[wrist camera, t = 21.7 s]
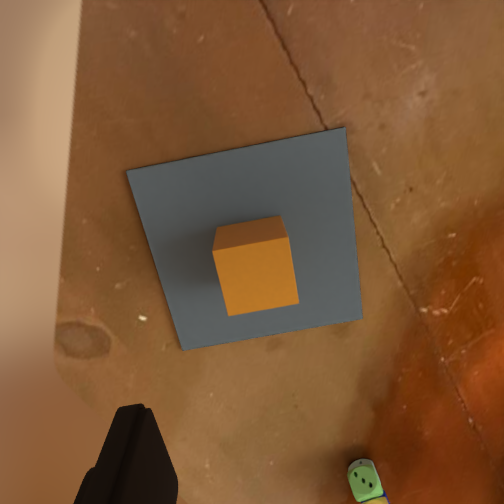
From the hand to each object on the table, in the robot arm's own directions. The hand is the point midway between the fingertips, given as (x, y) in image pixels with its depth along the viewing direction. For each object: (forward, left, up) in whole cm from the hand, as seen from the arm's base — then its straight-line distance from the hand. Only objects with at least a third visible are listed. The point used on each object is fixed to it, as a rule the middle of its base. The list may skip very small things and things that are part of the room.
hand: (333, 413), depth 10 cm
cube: (-2, -3, -20) cm, 20 cm away
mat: (-2, -3, -20) cm, 21 cm away
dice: (+5, -30, -20) cm, 36 cm away
